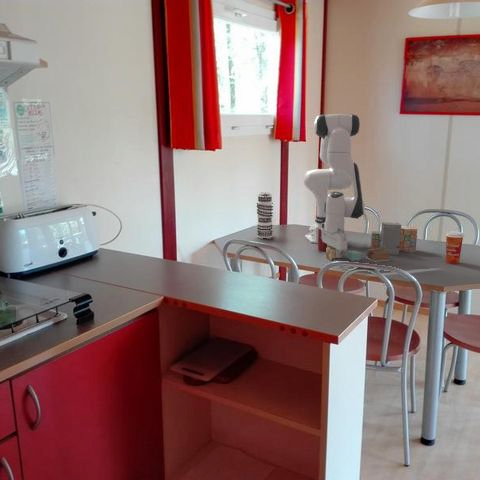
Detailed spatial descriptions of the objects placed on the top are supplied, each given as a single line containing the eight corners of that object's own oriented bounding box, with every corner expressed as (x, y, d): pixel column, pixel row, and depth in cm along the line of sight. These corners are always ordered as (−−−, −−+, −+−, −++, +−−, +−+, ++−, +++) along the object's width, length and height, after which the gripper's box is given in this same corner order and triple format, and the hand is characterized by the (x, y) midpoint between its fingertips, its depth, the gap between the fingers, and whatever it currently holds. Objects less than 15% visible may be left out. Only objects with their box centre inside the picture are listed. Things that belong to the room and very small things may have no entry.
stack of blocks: (371, 251, 267) (372, 227, 264) (370, 248, 273) (371, 225, 270) (415, 253, 263) (417, 228, 260) (414, 250, 269) (415, 226, 266)
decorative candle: (256, 235, 304) (256, 191, 298) (272, 235, 304) (273, 191, 298) (256, 238, 295) (256, 194, 290) (273, 238, 295) (273, 194, 289)
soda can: (314, 250, 269) (315, 227, 267) (327, 249, 272) (328, 226, 269) (321, 253, 263) (322, 230, 260) (334, 252, 265) (335, 228, 262)
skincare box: (382, 256, 256) (384, 224, 253) (379, 252, 263) (381, 221, 260) (400, 256, 256) (402, 224, 252) (396, 253, 263) (398, 221, 259)
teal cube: (347, 260, 251) (347, 251, 249) (355, 259, 252) (356, 250, 251) (351, 263, 246) (352, 253, 245) (360, 262, 248) (361, 253, 247)
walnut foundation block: (366, 257, 251) (367, 249, 250) (380, 256, 253) (380, 248, 252) (374, 261, 245) (375, 252, 244) (388, 260, 247) (388, 251, 246)
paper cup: (440, 262, 246) (442, 232, 242) (447, 259, 251) (450, 230, 248) (457, 265, 240) (459, 235, 237) (464, 262, 246) (467, 232, 242)
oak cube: (325, 257, 255) (326, 247, 254) (336, 256, 257) (336, 246, 256) (330, 260, 250) (331, 250, 249) (341, 259, 252) (341, 249, 251)
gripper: (351, 230, 241) (350, 260, 244) (331, 222, 260) (330, 249, 263) (338, 231, 239) (337, 261, 243) (319, 223, 259) (318, 250, 262)
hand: (333, 255), depth 253 cm, fingers closed on oak cube, 5 cm apart
